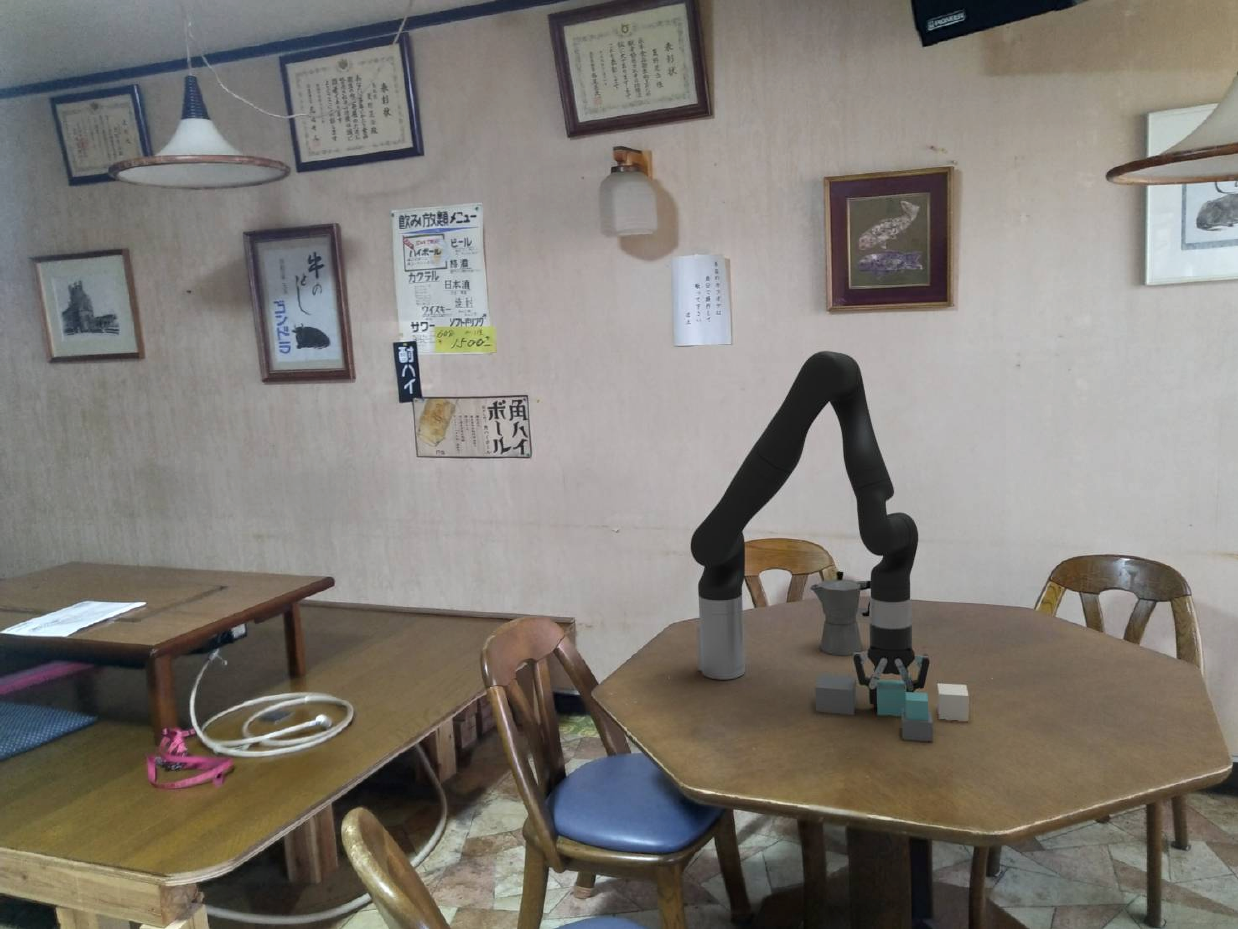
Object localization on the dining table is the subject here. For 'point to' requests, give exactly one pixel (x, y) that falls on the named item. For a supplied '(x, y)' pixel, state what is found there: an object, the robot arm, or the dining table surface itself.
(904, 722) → the stack
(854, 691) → the charcoal block
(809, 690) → the dining table surface
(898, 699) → the teal block
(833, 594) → the coffeepot
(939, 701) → the cream block
